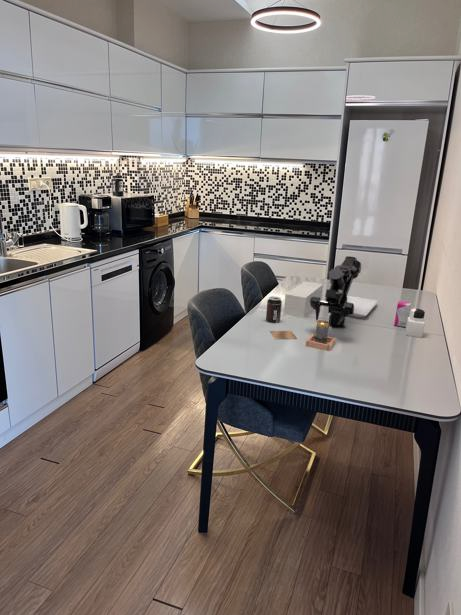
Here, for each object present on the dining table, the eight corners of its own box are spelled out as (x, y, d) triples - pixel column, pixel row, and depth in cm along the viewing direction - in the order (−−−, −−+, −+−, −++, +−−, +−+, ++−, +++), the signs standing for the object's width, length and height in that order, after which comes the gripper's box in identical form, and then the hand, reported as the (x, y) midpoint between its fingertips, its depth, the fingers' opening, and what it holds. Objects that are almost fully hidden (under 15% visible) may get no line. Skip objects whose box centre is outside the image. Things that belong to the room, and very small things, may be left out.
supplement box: (407, 324, 226) (411, 302, 223) (406, 328, 221) (410, 305, 217) (395, 322, 228) (398, 300, 225) (393, 326, 223) (397, 303, 220)
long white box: (303, 318, 228) (306, 297, 224) (283, 314, 232) (285, 294, 229) (320, 302, 255) (323, 284, 252) (302, 299, 260) (304, 281, 256)
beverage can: (279, 325, 215) (281, 300, 211) (264, 323, 216) (266, 299, 213) (280, 320, 221) (282, 296, 218) (266, 319, 223) (268, 295, 219)
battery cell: (319, 341, 196) (322, 319, 193) (328, 345, 192) (331, 322, 189) (311, 344, 193) (314, 321, 190) (321, 348, 189) (323, 325, 186)
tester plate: (291, 332, 207) (291, 330, 206) (297, 340, 197) (297, 339, 197) (269, 332, 205) (269, 331, 205) (275, 341, 195) (275, 339, 195)
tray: (332, 315, 236) (333, 308, 235) (347, 300, 262) (348, 295, 261) (365, 321, 228) (366, 315, 227) (377, 306, 255) (378, 300, 254)
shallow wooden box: (311, 340, 199) (312, 333, 198) (334, 344, 195) (335, 338, 194) (305, 347, 190) (306, 340, 190) (329, 352, 187) (330, 345, 186)
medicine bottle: (421, 333, 215) (426, 308, 212) (422, 338, 209) (426, 313, 205) (405, 330, 218) (409, 306, 214) (405, 335, 211) (410, 310, 208)
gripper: (313, 278, 200) (303, 309, 194) (356, 285, 193) (347, 317, 187) (316, 291, 210) (306, 321, 203) (357, 298, 202) (349, 329, 196)
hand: (327, 322), depth 197 cm, fingers open, 9 cm apart
